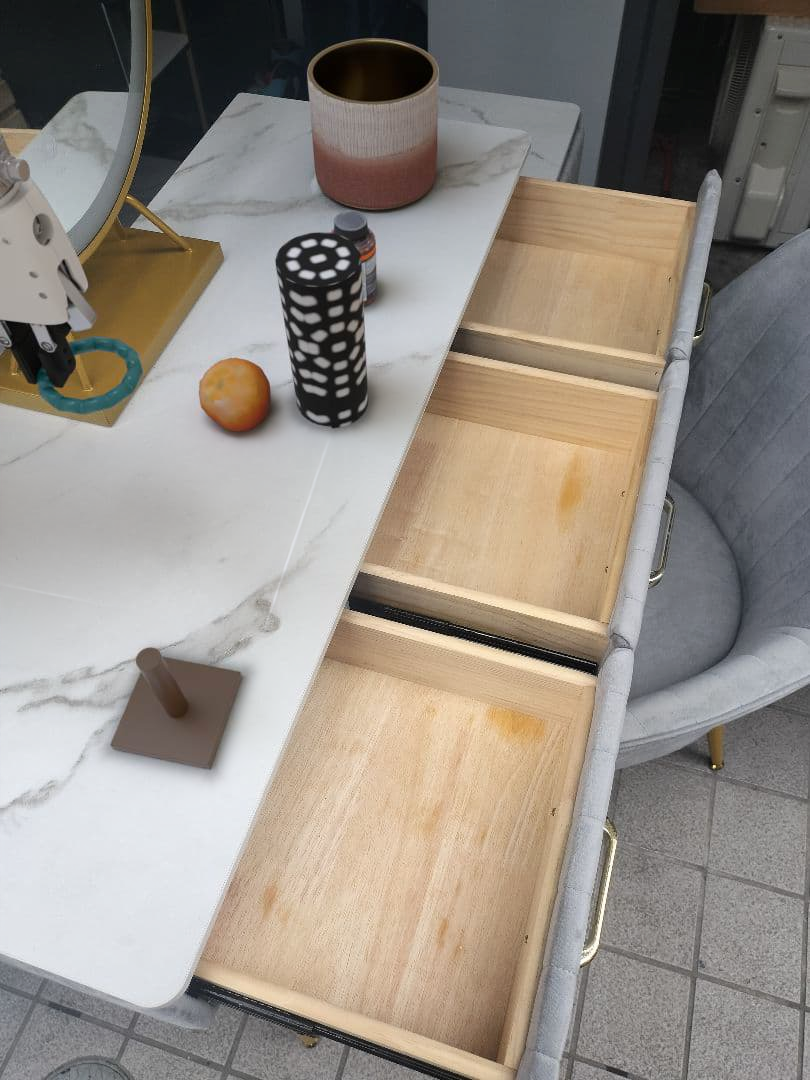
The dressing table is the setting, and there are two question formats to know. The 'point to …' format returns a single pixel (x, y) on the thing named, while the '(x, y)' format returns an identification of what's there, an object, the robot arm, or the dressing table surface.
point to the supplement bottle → (360, 248)
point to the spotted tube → (325, 326)
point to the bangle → (99, 401)
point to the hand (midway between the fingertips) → (52, 373)
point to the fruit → (235, 394)
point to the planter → (374, 122)
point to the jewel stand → (176, 710)
